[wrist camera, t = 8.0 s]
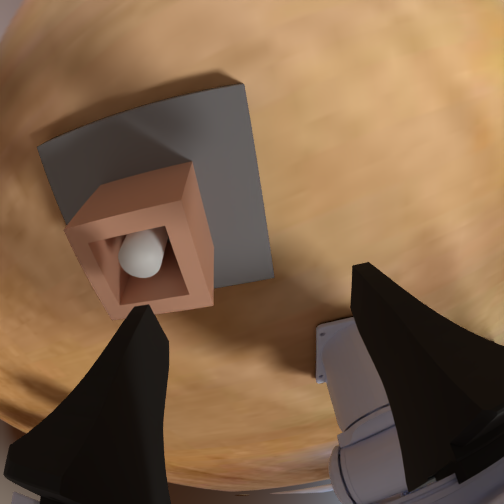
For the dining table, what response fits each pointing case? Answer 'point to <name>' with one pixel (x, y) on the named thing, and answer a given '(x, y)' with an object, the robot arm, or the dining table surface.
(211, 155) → the post board
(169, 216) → the collar
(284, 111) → the dining table surface
